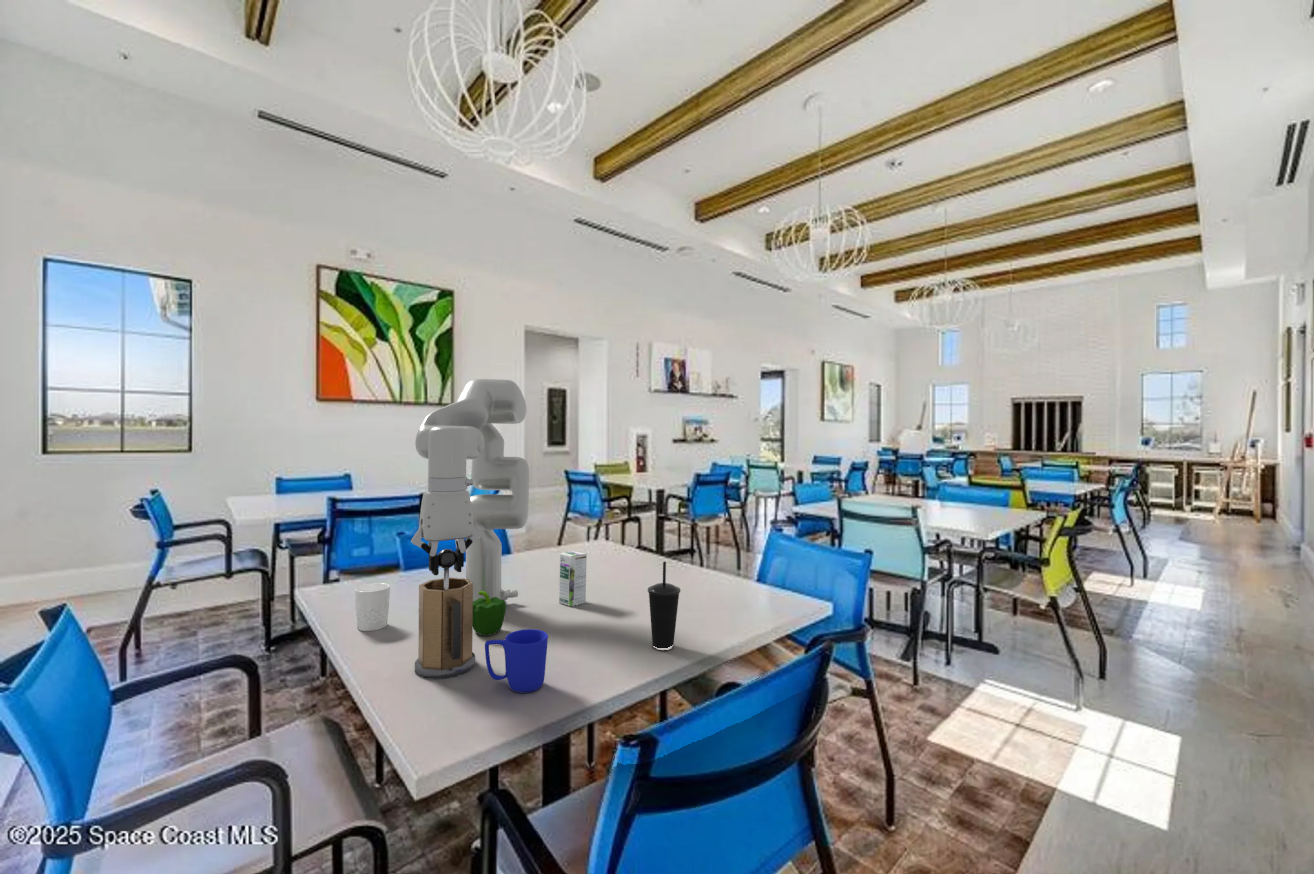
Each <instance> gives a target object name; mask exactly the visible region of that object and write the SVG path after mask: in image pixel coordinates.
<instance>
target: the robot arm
mask: <svg viewBox="0 0 1314 874" xmlns="http://www.w3.org/2000/svg"><path fill="white" fill-rule="evenodd" d="M526 403H527V402H526V400H525V397H524V395H523V392H522V390H521V388H520V386H519V385H518V384H517V383H516V382H515V381H513V380H510V379H496V378H494V379H493V378H489V379H488V378H477V379H476V378H475V379H473V380H470V381H468V382H467V383H466V384H465V386H464V387H463V389H462V390H461V393H460V395H459V396H458V398H457V400H456V402H453V403H450V404H448V405H446V406H443V407H441V408H438V409H436V410H434V411H432V412H431V413H429V414H428V415H427V416H426V417H425V418H424V420H423V421H422V423H421V424H420V426H419V428H418V430H417V433H416V436H415V439H414V440H415V442H414V444H415V445H414V446H415V450H416V452H417V454H418V455H419V456H420V457H421V458H423V459H426V460H427V464H428V466H427V468H428V469H427V473H428V474H427V477H428V478H427V491H425V492H423V494H422V499H421V505H420V513H419V523H418V524H419V525H418V529H417V531H416V532H415V533H414V535H413V537H412V538H411V540H410V543H412V545H414V546H416V547H418V548H421V550H423V551H424V552H425V553H427V555H428V570H429V571H430V572H431V573H432V575H434V576H438V575H439V572H440V570H439V569H440V568H439V567H440V566H439V557H438V556H437V555H438V552H437V551H438V545H439V542H443V541H451V540H452V541H453V540H454V541H455V542H454V543H455V551H454V552H455V554H456V557H457V559H456V562H455V564H454V565H453V569H454V571H455V572H457V573H461V572H462V568H463V567H464V564H465V579H468V580H470V581H471V582H472V583H473V601H476V600H477V599H479V598H484V599H485V596H484V595H479V593H478V592H480V591H485V592H486V593H487V594H488V595H489V599H490V598H493V597H497V598H499V599H501V600H504V601H505V603H506V607H507V605H508V604H507V603H508V602H507V600H508V599H511V598H512V599H513V598H518V596H519V592H518V590H517V589H516V590H511V589H505V590H504V589H503V588H502V553H503V552H502V551H503V550H502V547H503V546H502V542H501V540H500V538H499V536H498V535H497V533H495V531H494V530H498V529H499V530H519V529H522V528H524V527H525V526H526V524H527V522H528V517H529V500H530V497H529V495H530V467H529V464H528V461H527V460H526V459H524V458H523V457H519V456H505V455H504V454H505V453H504V452H505V440H504V438H503V436H502V434H501V433H500V431H499V430H498V429H497V427H495V426H494V425H493V424H498V425H499V424H503V425H504V424H509V425H511V424H512V425H517V424H518V425H519V424H521V423H522V422H523V421H524V420H525V418H526V415H527V404H526ZM467 460H471V473H470V475H471V477H470V478H471V479H470V478H468V477H467ZM470 486H473V488H475V489H478V490H482V491H510V492H511V493H512V494H490V493H489V494H485V493H484V494H475V495H472V496H471V495H470V491H469V490H468V487H470ZM422 539H424V541H427V542H428V544H427V543H426V542H424V541H422ZM464 559H465V561H464Z"/></svg>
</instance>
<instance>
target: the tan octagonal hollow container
mask: <svg viewBox="0 0 1314 874" xmlns="http://www.w3.org/2000/svg"><path fill="white" fill-rule="evenodd" d="M473 630H474V629H473V583H472V582H471V581H470V580H468V579H466V577H464V578H461V577H452V576H451V577H450V576H449V590H444V577H442V578H436V579H430V580H427V581H425V582H422V583H420V584H419V585H418V655H417V656H418V658H417V659H416V660H415V661H414V673H415V675H417V676H418V677H419V678H422V677H423V678H422V679H426V680H427V679H428V680H445V679H446V680H447V679H451V677H452V678H456V677H459V676H462V675H465V674H467V673H469V672H470V671H471V670H472V669H474V668H475V666H476V655H475V653H474V652H473ZM464 673H465V674H464Z"/></svg>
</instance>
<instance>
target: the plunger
mask: <svg viewBox="0 0 1314 874" xmlns="http://www.w3.org/2000/svg"><path fill="white" fill-rule="evenodd" d="M437 556H438V557H439V567H440V568H442V569H443V578H444V590H449V578H450V568H453V567H454V564H455V562H456V559H457V557H456V554H455V551H454V550H452V549H450V548H444V549H442V550H440V551H439V552H437Z"/></svg>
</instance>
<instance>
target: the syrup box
mask: <svg viewBox="0 0 1314 874" xmlns="http://www.w3.org/2000/svg"><path fill="white" fill-rule="evenodd" d="M587 556H588V555H587V553H585V552H584V553H582V552H579V551H575V550H569V551H565V552H561V553H559V584H558V585H559V586H558V587H559V588H558V590H559V591H558V604H562V605H564V606H567V605H568V607H570V606H573V607H575V605H576V606H578V605H577V604H579V605H582V604H585V603H586V599H587V598H586V597H587V596H586V595H587V594H586V593H587V591H586V590H587ZM584 602H585V603H584ZM581 603H582V604H581Z"/></svg>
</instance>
